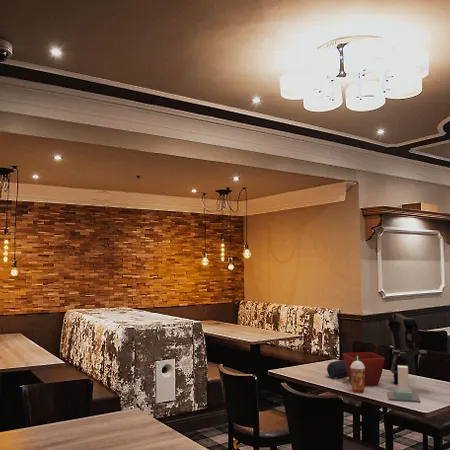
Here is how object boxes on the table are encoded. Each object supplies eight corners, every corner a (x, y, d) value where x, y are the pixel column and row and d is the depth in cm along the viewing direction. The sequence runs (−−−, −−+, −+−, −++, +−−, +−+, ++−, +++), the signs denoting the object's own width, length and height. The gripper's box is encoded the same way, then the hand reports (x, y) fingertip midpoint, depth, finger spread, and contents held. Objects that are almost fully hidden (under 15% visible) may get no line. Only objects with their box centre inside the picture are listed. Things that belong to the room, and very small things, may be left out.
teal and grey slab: (388, 400, 263) (388, 392, 263) (387, 393, 277) (387, 386, 277) (420, 402, 259) (420, 394, 259) (417, 395, 272) (417, 388, 272)
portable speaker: (346, 371, 331) (346, 356, 332) (359, 374, 324) (359, 358, 325) (324, 377, 314) (324, 361, 315) (337, 380, 307) (337, 364, 308)
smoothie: (348, 389, 285) (347, 354, 286) (362, 389, 285) (361, 354, 287) (353, 393, 276) (352, 357, 278) (367, 393, 277) (367, 357, 279)
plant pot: (355, 388, 288) (354, 358, 290) (342, 380, 307) (342, 352, 308) (385, 386, 291) (385, 358, 293) (371, 379, 310) (370, 352, 311)
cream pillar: (398, 391, 265) (398, 367, 266) (398, 389, 270) (397, 365, 271) (408, 392, 264) (407, 367, 265) (407, 390, 269) (407, 365, 270)
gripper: (393, 341, 279) (393, 369, 278) (428, 343, 274) (429, 371, 273) (392, 338, 290) (392, 365, 289) (425, 340, 285) (426, 367, 284)
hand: (409, 367), depth 283 cm, fingers open, 9 cm apart
